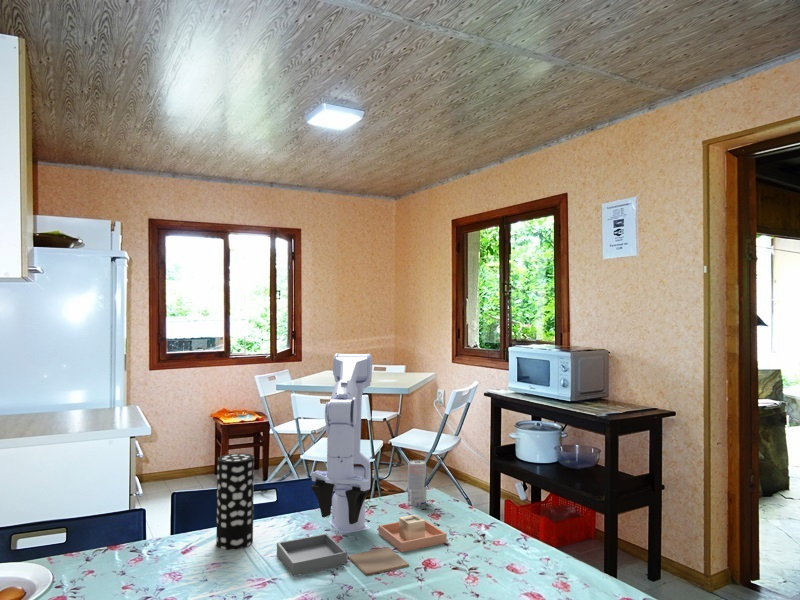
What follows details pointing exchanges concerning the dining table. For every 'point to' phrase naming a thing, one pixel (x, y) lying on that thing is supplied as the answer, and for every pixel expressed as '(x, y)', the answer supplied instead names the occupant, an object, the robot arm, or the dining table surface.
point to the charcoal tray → (311, 554)
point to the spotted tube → (235, 501)
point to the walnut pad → (377, 561)
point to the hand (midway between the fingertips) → (339, 519)
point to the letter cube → (411, 527)
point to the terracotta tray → (431, 538)
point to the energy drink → (417, 482)
